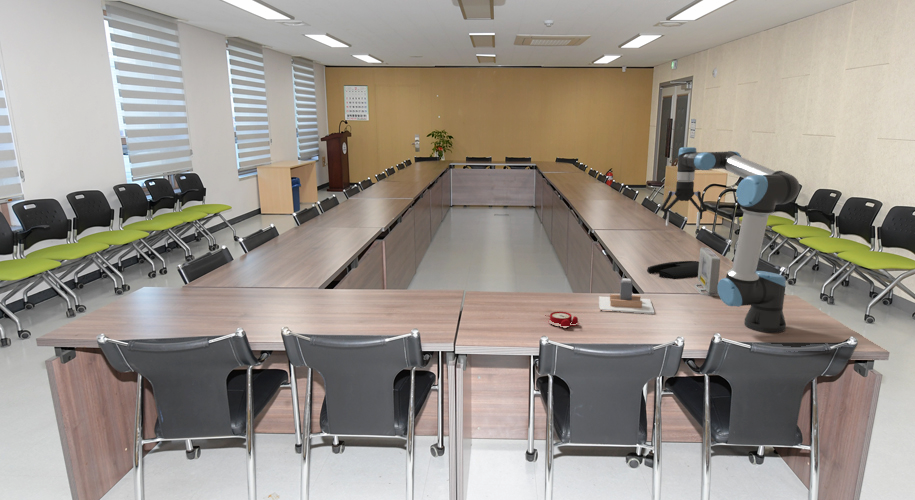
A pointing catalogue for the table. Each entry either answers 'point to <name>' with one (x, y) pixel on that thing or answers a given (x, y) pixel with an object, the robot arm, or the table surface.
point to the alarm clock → (563, 318)
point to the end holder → (626, 304)
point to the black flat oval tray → (676, 269)
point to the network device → (708, 272)
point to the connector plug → (626, 289)
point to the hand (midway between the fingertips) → (682, 225)
